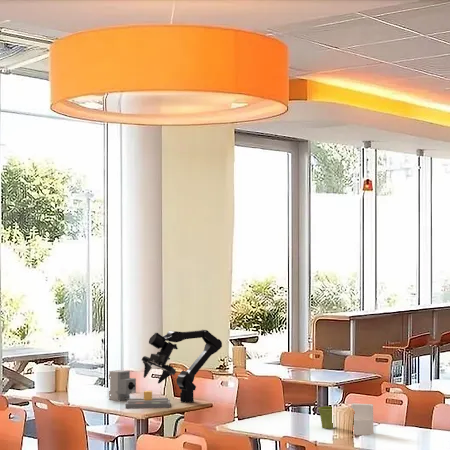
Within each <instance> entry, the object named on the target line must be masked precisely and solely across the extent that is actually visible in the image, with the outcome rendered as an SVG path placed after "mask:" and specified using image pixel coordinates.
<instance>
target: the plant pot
mask: <svg viewBox="0 0 450 450" xmlns="http://www.w3.org/2000/svg"><path fill="white" fill-rule="evenodd" d="M332 406H333V405H332ZM332 406H319V407H317V410H318V412H319V415H320V416H319V417H320V421H321V423H320V424H321V428H322V429H324V430H326V429H328V430H333V423H332Z"/></svg>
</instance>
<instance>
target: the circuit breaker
mask: <svg viewBox="0 0 450 450" xmlns="http://www.w3.org/2000/svg"><path fill="white" fill-rule="evenodd" d="M130 375H131V372H130V370H122V369H117V370H109V374H108V380H109V390H108V397H109V398H108V400H110V399H111V400H110V401H118V400H121V401H126V400H125V399H127V400H129V399H130V398H131V395H130V394H135V393H137V383H136V382H137V379H136V378H134V377H131V376H130Z"/></svg>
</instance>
